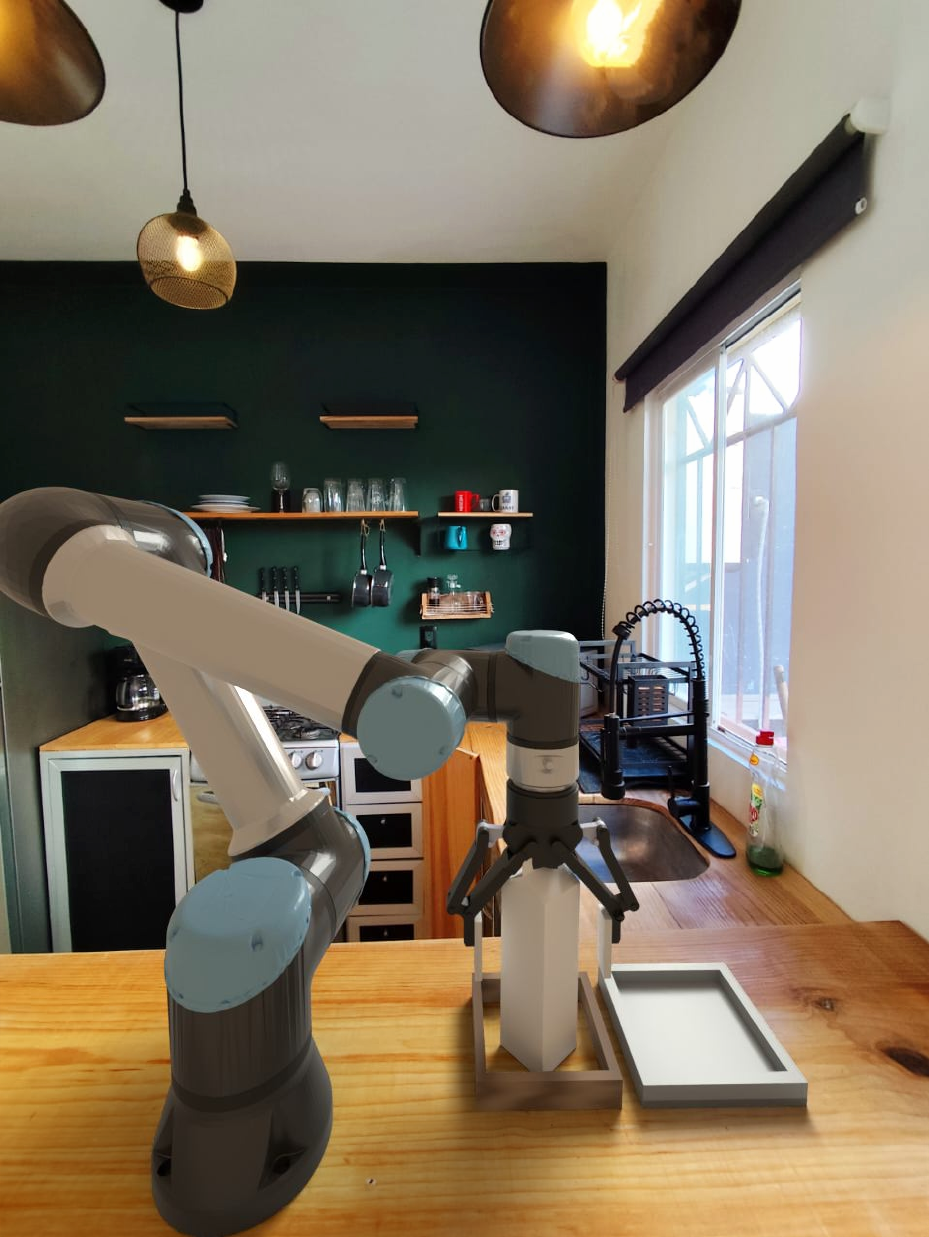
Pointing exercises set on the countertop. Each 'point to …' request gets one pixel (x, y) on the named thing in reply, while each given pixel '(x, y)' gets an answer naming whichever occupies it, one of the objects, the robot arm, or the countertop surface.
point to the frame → (546, 1085)
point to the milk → (539, 965)
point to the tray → (697, 1038)
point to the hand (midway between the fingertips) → (541, 970)
